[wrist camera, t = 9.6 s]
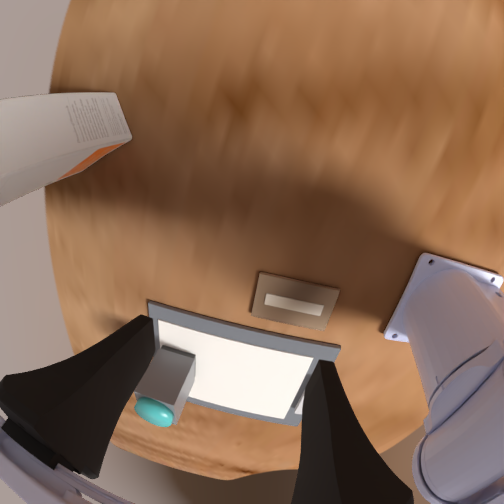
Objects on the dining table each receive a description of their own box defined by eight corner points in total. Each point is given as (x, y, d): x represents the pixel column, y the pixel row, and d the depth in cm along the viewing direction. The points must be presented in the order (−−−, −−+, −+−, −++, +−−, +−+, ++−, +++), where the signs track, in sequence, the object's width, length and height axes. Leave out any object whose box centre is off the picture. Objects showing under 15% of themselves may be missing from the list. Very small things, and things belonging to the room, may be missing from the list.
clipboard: (340, 345, 23) (341, 354, 22) (297, 423, 29) (296, 431, 28) (150, 300, 24) (144, 307, 23) (159, 389, 31) (155, 395, 30)
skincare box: (83, 172, 20) (-36, 228, 9) (67, 128, 18) (-55, 164, 8) (136, 139, 18) (-6, 181, 8) (117, 90, 17) (-25, 98, 6)
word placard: (339, 288, 21) (340, 291, 20) (324, 328, 22) (324, 332, 22) (260, 271, 21) (259, 274, 21) (251, 313, 23) (250, 316, 22)
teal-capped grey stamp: (196, 354, 25) (170, 413, 19) (196, 376, 27) (173, 431, 21) (161, 343, 26) (130, 398, 20) (163, 366, 27) (136, 418, 21)
